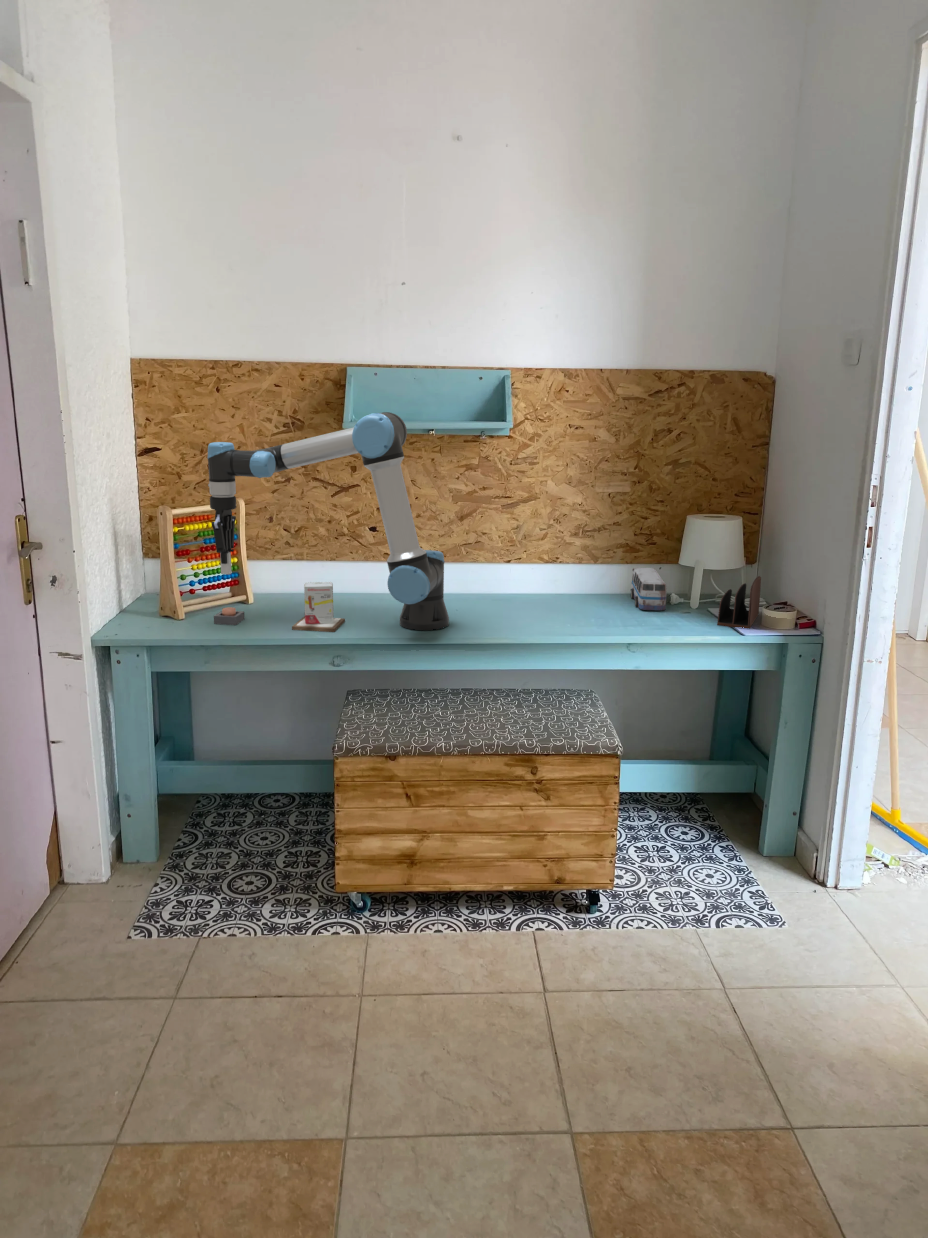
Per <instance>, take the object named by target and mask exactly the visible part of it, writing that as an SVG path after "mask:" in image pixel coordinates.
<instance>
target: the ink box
mask: <svg viewBox="0 0 928 1238" xmlns="http://www.w3.org/2000/svg"><path fill="white" fill-rule="evenodd" d="M303 584H304V585H303V588H304V591H303V592H304V594H303V595H304V616H305V623H306V624H323V623H334V618H335V617H334V584H333V582H331V581H313V582H312V581H308V582H304V583H303Z"/></svg>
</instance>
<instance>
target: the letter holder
mask: <svg viewBox="0 0 928 1238" xmlns="http://www.w3.org/2000/svg"><path fill="white" fill-rule="evenodd" d="M761 585H762V577H761V575H758V576H756V578H755V579H754V580H753V581H752V583H751V586H750V589H749V600H748V601H749V602H748V603H749V604H748V609H747V607H746V593H747V583H746V582H744V583H742V584H741V585H740V586H739V588H738V590H737V591H736V593H735V596H734V604H733V608H731V600H732V594H733V590H732V589H731V588H730V589H727V591H726V592H725V593H724V594H723V595H722V596H721V599H720V601H719V608H718V615H717V622H716V625H717V626H719V627H728V628H735V627H742V628H743V627H744V628H750V629H751V627H752V626H753V624H754V622H755V621H756V619H757V617H758V616H759V615H758V614H759V613H760V603H761V602H760V600H761V587H762V586H761ZM742 628H741V629H742Z"/></svg>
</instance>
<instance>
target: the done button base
mask: <svg viewBox="0 0 928 1238" xmlns="http://www.w3.org/2000/svg"><path fill="white" fill-rule="evenodd" d="M245 619H246V617H245V611H241V610H236V615H235V616H223V615H222V610H221V611H219V612H217V613H216V614H214V615H213V625H227V626H237V625H238V624H240V623H241V622H243V621H244V620H245Z"/></svg>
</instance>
